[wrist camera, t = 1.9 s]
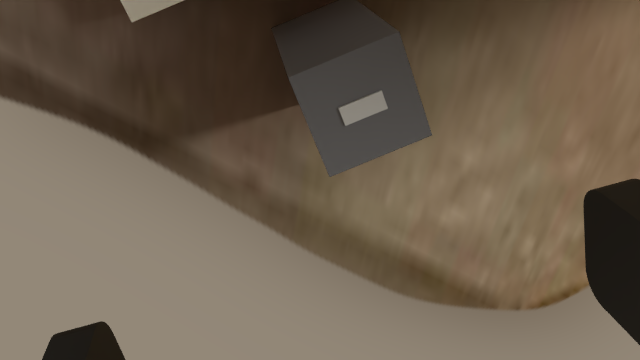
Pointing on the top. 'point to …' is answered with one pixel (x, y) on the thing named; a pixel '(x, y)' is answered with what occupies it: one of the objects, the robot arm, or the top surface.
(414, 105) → the grey rectangular block
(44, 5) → the top surface
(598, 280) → the robot arm
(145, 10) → the switch board
